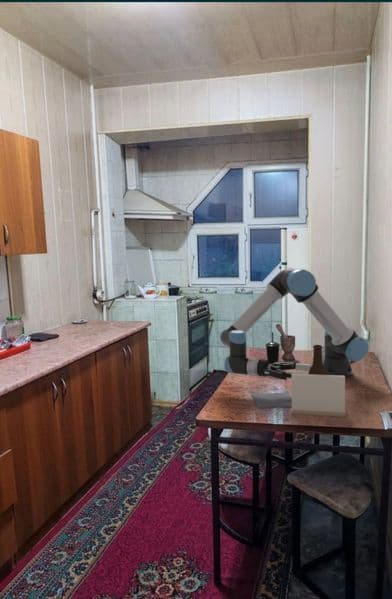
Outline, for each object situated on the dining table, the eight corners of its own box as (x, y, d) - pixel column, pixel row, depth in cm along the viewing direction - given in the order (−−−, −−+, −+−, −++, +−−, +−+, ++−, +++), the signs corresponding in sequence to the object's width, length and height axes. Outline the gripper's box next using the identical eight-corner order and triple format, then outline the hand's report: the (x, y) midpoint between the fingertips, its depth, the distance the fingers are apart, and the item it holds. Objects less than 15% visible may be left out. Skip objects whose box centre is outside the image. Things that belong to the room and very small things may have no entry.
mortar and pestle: (274, 359, 264) (273, 325, 262) (276, 356, 272) (276, 323, 270) (294, 360, 260) (294, 326, 258) (296, 357, 268) (296, 323, 266)
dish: (350, 354, 271) (350, 346, 270) (355, 364, 249) (355, 355, 249) (311, 354, 275) (311, 346, 275) (313, 363, 254) (313, 354, 253)
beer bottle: (306, 398, 196) (306, 343, 193) (324, 398, 195) (324, 343, 193) (310, 404, 188) (310, 347, 185) (329, 404, 188) (329, 347, 185)
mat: (287, 394, 202) (287, 392, 202) (297, 406, 186) (297, 404, 186) (251, 395, 201) (251, 393, 201) (258, 408, 186) (258, 406, 186)
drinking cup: (280, 371, 238) (279, 334, 236) (265, 371, 240) (264, 333, 238) (280, 367, 246) (280, 331, 244) (266, 367, 247) (265, 331, 245)
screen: (344, 411, 179) (344, 374, 178) (345, 416, 174) (345, 378, 172) (292, 408, 184) (291, 372, 183) (291, 413, 179) (291, 376, 177)
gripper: (267, 368, 213) (313, 373, 203) (249, 383, 191) (299, 389, 181) (267, 352, 212) (313, 356, 202) (248, 366, 190) (299, 370, 180)
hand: (307, 372), depth 192 cm, fingers open, 13 cm apart
